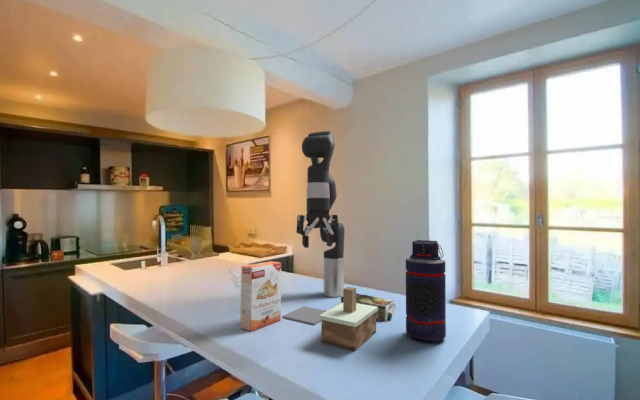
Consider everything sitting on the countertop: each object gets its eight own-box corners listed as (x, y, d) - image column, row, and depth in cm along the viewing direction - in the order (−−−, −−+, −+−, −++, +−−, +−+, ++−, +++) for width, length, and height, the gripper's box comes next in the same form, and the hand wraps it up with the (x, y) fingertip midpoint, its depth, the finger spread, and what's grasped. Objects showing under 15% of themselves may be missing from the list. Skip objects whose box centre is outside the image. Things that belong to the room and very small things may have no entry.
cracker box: (251, 332, 104) (251, 267, 105) (239, 328, 108) (240, 265, 108) (282, 320, 115) (282, 262, 116) (270, 317, 119) (270, 260, 119)
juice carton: (398, 314, 122) (398, 298, 122) (389, 322, 114) (388, 305, 114) (352, 306, 134) (351, 291, 134) (340, 313, 125) (339, 297, 125)
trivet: (303, 307, 130) (303, 306, 130) (334, 313, 123) (334, 312, 123) (282, 317, 118) (282, 316, 118) (314, 325, 111) (314, 323, 111)
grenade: (442, 347, 93) (442, 243, 94) (401, 339, 99) (401, 241, 100) (449, 331, 105) (448, 239, 106) (412, 325, 111) (412, 238, 112)
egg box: (345, 325, 110) (345, 305, 110) (375, 332, 105) (375, 310, 105) (321, 342, 97) (321, 319, 97) (354, 351, 91) (354, 326, 91)
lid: (345, 306, 111) (345, 280, 111) (377, 312, 105) (377, 285, 105) (319, 321, 97) (319, 291, 97) (355, 329, 90) (355, 297, 91)
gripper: (330, 197, 112) (330, 244, 112) (293, 197, 105) (293, 246, 105) (342, 197, 106) (342, 246, 105) (303, 196, 99) (303, 249, 98)
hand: (317, 246), depth 105 cm, fingers open, 8 cm apart
